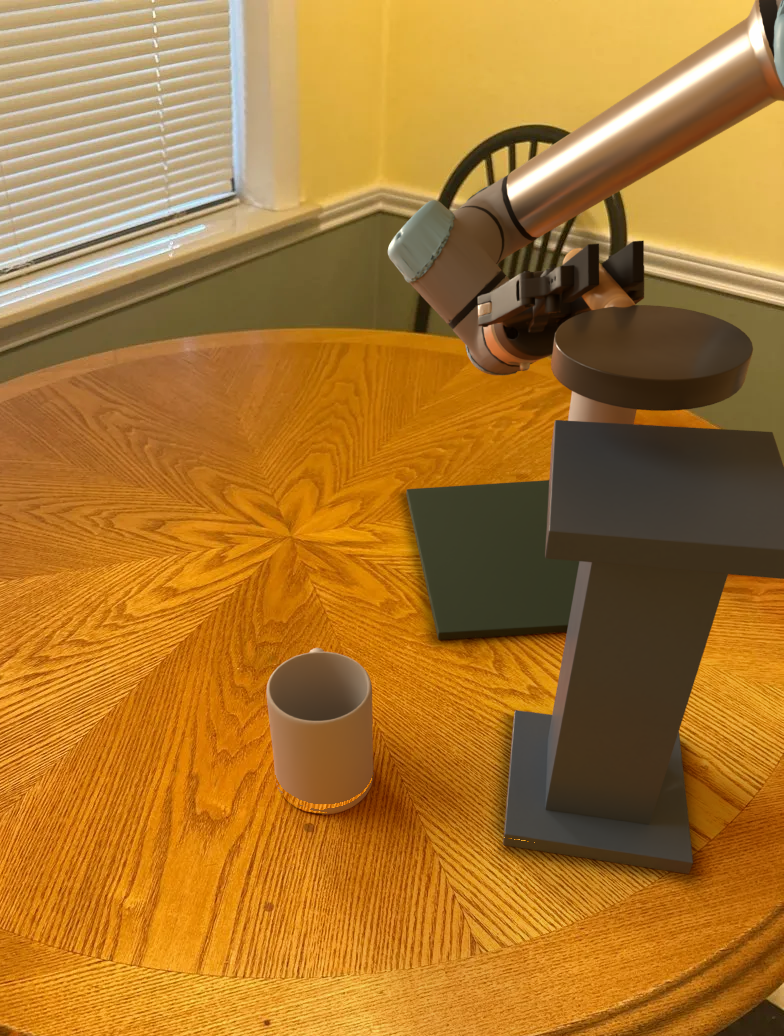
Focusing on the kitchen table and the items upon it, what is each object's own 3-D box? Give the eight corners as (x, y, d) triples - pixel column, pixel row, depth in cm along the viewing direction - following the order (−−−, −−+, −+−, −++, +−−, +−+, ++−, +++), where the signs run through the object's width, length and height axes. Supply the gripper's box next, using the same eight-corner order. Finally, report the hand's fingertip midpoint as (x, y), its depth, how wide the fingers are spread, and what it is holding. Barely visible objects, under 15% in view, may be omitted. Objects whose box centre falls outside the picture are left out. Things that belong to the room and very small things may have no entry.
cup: (618, 456, 116) (632, 384, 110) (557, 442, 120) (567, 371, 113) (638, 429, 121) (652, 358, 115) (579, 416, 125) (590, 347, 118)
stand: (675, 741, 78) (773, 431, 59) (689, 874, 68) (812, 552, 49) (513, 721, 81) (554, 419, 62) (502, 845, 71) (548, 530, 52)
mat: (406, 495, 112) (406, 488, 111) (549, 486, 111) (550, 479, 111) (438, 640, 90) (438, 632, 90) (615, 629, 90) (617, 622, 89)
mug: (378, 812, 74) (377, 720, 67) (276, 819, 74) (265, 727, 67) (365, 710, 83) (364, 620, 76) (274, 716, 83) (264, 626, 76)
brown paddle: (777, 404, 53) (789, 365, 52) (577, 417, 54) (583, 379, 52) (646, 269, 72) (652, 238, 70) (497, 279, 72) (500, 249, 71)
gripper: (612, 355, 86) (726, 311, 63) (451, 366, 86) (506, 326, 63) (612, 273, 84) (728, 197, 61) (449, 284, 85) (503, 213, 62)
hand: (615, 263), depth 62 cm, fingers closed on brown paddle, 2 cm apart
